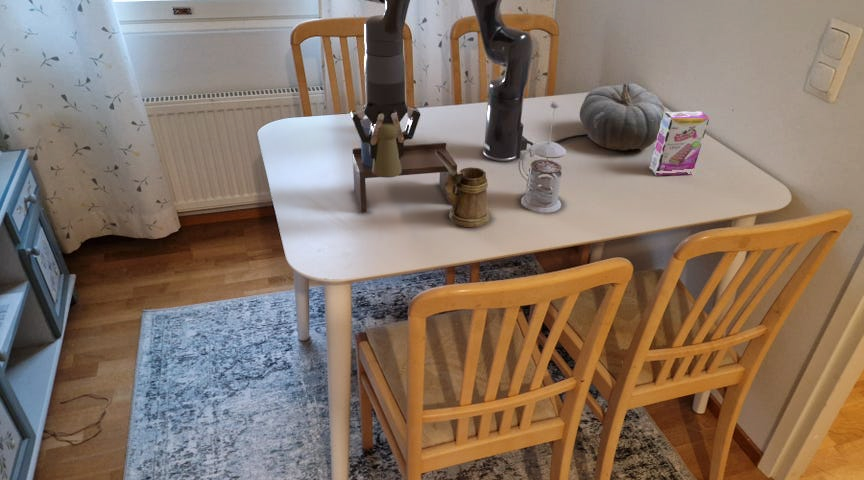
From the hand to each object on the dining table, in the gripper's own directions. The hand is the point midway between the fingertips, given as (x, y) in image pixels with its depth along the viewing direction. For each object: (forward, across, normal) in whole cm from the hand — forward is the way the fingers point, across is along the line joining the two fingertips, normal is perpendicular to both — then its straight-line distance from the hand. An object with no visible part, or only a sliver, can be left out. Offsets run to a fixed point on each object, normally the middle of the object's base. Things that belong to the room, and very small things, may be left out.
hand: (386, 158), depth 129 cm
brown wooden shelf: (+16, +6, +12) cm, 21 cm away
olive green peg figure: (+3, 0, 0) cm, 3 cm away
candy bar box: (+17, +80, +13) cm, 83 cm away
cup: (+6, 0, +12) cm, 13 cm away
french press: (+17, +37, +4) cm, 41 cm away
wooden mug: (+16, +16, 0) cm, 23 cm away
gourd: (+17, +76, +34) cm, 85 cm away
